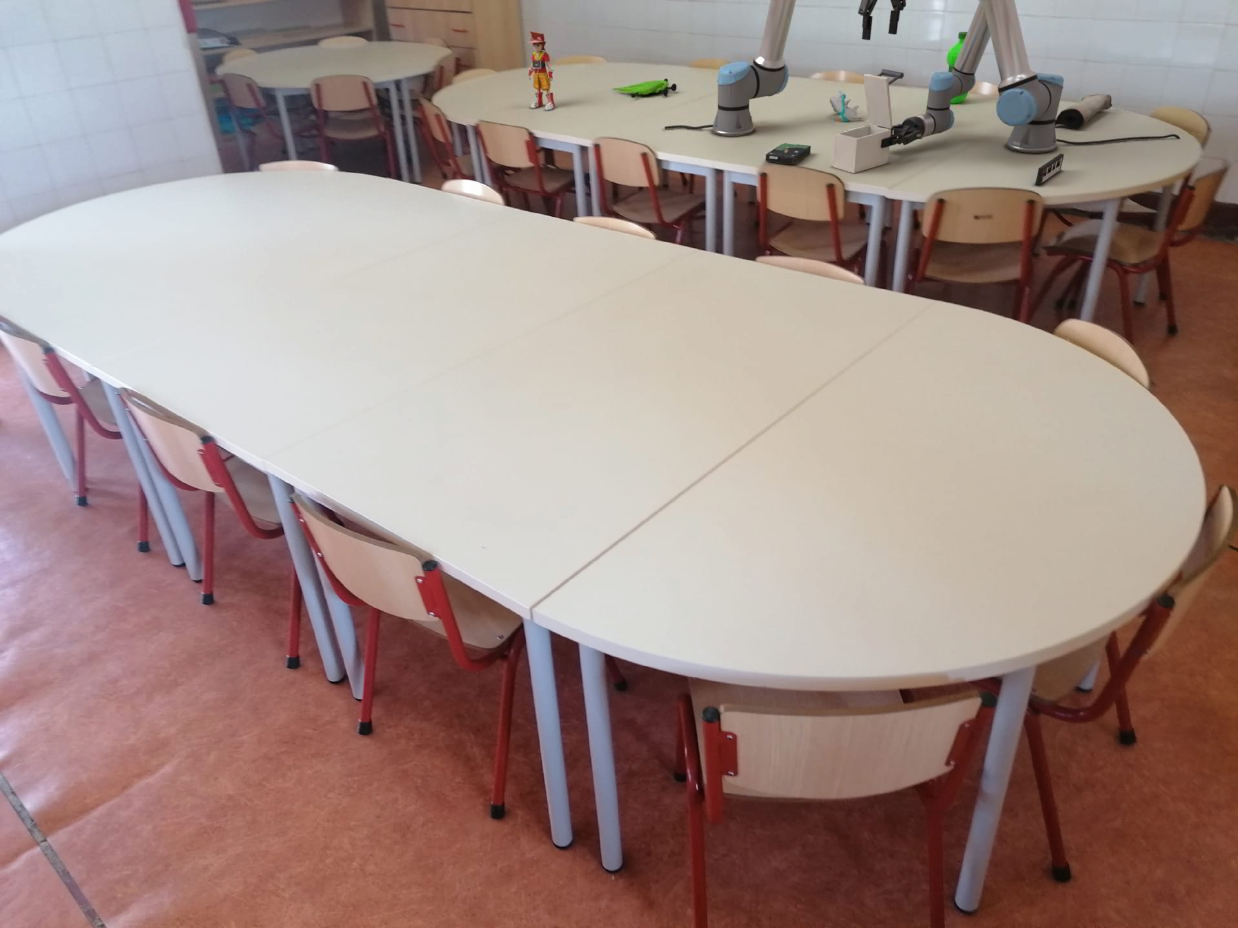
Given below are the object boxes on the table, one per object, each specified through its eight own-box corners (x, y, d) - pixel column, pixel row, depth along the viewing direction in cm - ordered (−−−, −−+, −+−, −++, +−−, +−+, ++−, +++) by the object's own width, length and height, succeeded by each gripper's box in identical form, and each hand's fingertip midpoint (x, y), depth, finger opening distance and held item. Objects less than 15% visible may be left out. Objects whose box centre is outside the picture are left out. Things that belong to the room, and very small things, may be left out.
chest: (853, 173, 288) (857, 139, 282) (832, 167, 295) (835, 133, 289) (887, 163, 295) (891, 130, 289) (865, 157, 302) (869, 124, 296)
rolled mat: (1079, 99, 336) (1104, 81, 328) (1092, 119, 337) (1117, 102, 329) (1048, 120, 319) (1073, 103, 311) (1062, 142, 319) (1088, 125, 311)
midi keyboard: (1039, 185, 269) (1043, 168, 266) (1035, 184, 270) (1038, 168, 267) (1060, 170, 279) (1064, 154, 277) (1056, 169, 280) (1060, 153, 277)
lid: (886, 79, 278) (905, 66, 280) (863, 75, 284) (882, 62, 286) (890, 129, 289) (908, 116, 291) (868, 123, 295) (886, 111, 297)
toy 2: (686, 85, 398) (631, 84, 414) (685, 72, 395) (629, 72, 411) (651, 104, 381) (596, 103, 397) (650, 92, 378) (594, 91, 394)
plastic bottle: (973, 101, 354) (984, 32, 339) (955, 106, 349) (966, 36, 335) (952, 97, 361) (962, 29, 346) (934, 102, 356) (944, 33, 342)
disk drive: (793, 166, 298) (810, 153, 308) (794, 157, 296) (811, 145, 306) (765, 162, 303) (782, 150, 313) (765, 154, 301) (783, 142, 311)
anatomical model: (825, 90, 346) (850, 83, 345) (827, 117, 352) (853, 110, 351) (835, 99, 333) (862, 92, 333) (838, 127, 339) (864, 120, 338)
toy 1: (525, 109, 381) (517, 32, 364) (534, 104, 388) (527, 28, 371) (550, 110, 377) (543, 32, 360) (559, 105, 384) (553, 28, 367)
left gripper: (869, -40, 254) (861, 44, 267) (925, -49, 265) (914, 32, 277) (850, -42, 260) (843, 41, 272) (905, -50, 270) (896, 30, 282)
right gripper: (941, 145, 297) (895, 159, 287) (890, 133, 312) (844, 145, 303) (945, 122, 293) (897, 135, 283) (892, 110, 308) (846, 122, 298)
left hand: (879, 37), depth 275 cm, fingers open, 11 cm apart
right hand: (870, 140), depth 293 cm, fingers closed on chest, 9 cm apart
